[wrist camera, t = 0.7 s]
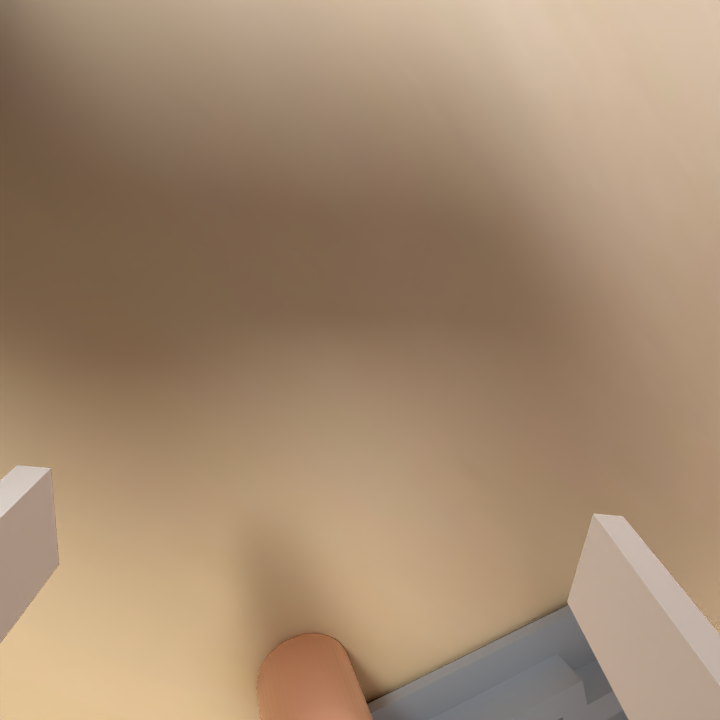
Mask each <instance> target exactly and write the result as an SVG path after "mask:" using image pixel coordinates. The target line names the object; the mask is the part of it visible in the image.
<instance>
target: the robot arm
mask: <svg viewBox="0 0 720 720" xmlns="http://www.w3.org/2000/svg"><path fill="white" fill-rule="evenodd" d="M58 565H59V556H58V544H57V532H56V520H55V508H54V496H53V484H52V472H51V468H45V467H33V466H21V465H17V466H16V467H15V468H14V469H12V470H11V471H10V472H9V473H8V474H7V475H6V476H4V477H3V478H2V479H1V480H0V643H1V642H2V641H3V639H4V638H5V637H6V635H7V634H8V632H9V631H10V630H11V628H12V627H13V626H14V624H15V623H16V622H17V620H18V619H19V618H20V616H21V615H22V614H23V612H24V611H25V610H26V608H27V607H28V606H29V604H30V603H31V602H32V600H33V599H34V598H35V596H36V595H37V594H38V592H39V591H40V589H41V588H42V587H43V585H44V584H45V583H46V581H47V580H48V579H49V577H50V576H51V575H52V573H53V572H54V571H55V569H56V568H57V567H58ZM567 603H568V605H569V607H570V608H571V610H572V612H573V614H574V616H575V618H576V620H577V622H578V624H579V626H580V628H581V630H582V632H583V633H584V635H585V637H586V639H587V641H588V643H589V645H590V647H591V649H592V651H593V653H594V655H595V657H596V658H597V660H598V662H599V664H600V666H601V668H602V670H603V672H604V674H605V676H606V678H607V680H608V682H609V683H610V685H611V687H612V689H613V691H614V693H615V695H616V697H617V699H618V701H619V703H620V705H621V707H622V708H623V710H624V712H625V714H626V716H627V718H628V720H720V634H719V633H718V632H717V631H716V629H715V628H714V627H713V626H712V624H711V623H710V622H709V621H708V620H707V618H706V617H705V616H704V615H703V613H702V612H701V611H700V610H699V609H698V607H697V606H696V605H695V604H694V602H693V601H692V600H691V599H690V598H689V596H688V595H687V594H686V593H685V591H684V590H683V589H682V588H681V587H680V585H679V584H678V583H677V582H676V580H675V579H674V578H673V577H672V576H671V574H670V573H669V572H668V571H667V569H666V568H665V567H664V566H663V565H662V563H661V562H660V561H659V560H658V558H657V557H656V556H655V555H654V553H653V552H652V551H651V550H650V549H649V547H648V546H647V545H646V544H645V542H644V541H643V540H642V539H641V538H640V536H639V535H638V534H637V533H636V531H635V530H634V529H633V528H632V527H631V525H630V524H629V523H628V522H627V520H626V519H625V518H624V517H623V516H616V515H605V514H593V516H592V519H591V523H590V526H589V529H588V533H587V536H586V540H585V543H584V546H583V550H582V553H581V556H580V560H579V563H578V566H577V570H576V573H575V577H574V580H573V583H572V587H571V590H570V593H569V597H568V600H567Z"/></svg>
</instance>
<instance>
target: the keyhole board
mask: <svg viewBox="0 0 720 720" xmlns="http://www.w3.org/2000/svg"><path fill="white" fill-rule="evenodd" d="M367 705H368V708H369V710H370V713H371V715H372V718H373V720H628V718H627V716H626V714H625V712H624V710H623V708H622V707H621V705H620V703H619V701H618V699H617V697H616V695H615V693H614V691H613V689H612V687H611V685H610V683H609V682H608V680H607V678H606V676H605V674H604V672H603V670H602V668H601V666H600V664H599V662H598V660H597V658H596V657H595V655H594V653H593V651H592V649H591V647H590V645H589V643H588V641H587V639H586V637H585V635H584V633H583V632H582V630H581V628H580V626H579V624H578V622H577V620H576V618H575V616H574V614H573V612H572V610H571V608H570V607H569V605H567V606H565V607H563V608H561V609H559V610H557V611H555V612H553V613H551V614H549V615H547V616H545V617H543V618H541V619H539V620H537V621H535V622H533V623H531V624H528V625H526V626H524V627H522V628H520V629H518V630H516V631H514V632H512V633H510V634H508V635H506V636H504V637H502V638H500V639H498V640H496V641H494V642H492V643H490V644H488V645H486V646H484V647H482V648H480V649H478V650H476V651H474V652H472V653H470V654H468V655H466V656H464V657H462V658H460V659H458V660H456V661H454V662H451V663H449V664H447V665H445V666H443V667H441V668H439V669H437V670H435V671H433V672H431V673H429V674H427V675H425V676H423V677H421V678H419V679H417V680H415V681H413V682H411V683H409V684H407V685H405V686H403V687H401V688H399V689H397V690H395V691H393V692H391V693H389V694H387V695H385V696H383V697H381V698H379V699H377V700H374V701H372V702H370V703H368V704H367Z"/></svg>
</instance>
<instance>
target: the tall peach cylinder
mask: <svg viewBox="0 0 720 720" xmlns="http://www.w3.org/2000/svg"><path fill="white" fill-rule="evenodd" d="M256 690H257V697H258V704H259V711H260V718H261V720H373V718H372V715H371V713H370V710H369V708H368V705H367V703H366V700H365V698H364V695H363V693H362V690H361V688H360V685H359V683H358V680H357V678H356V675H355V673H354V670H353V668H352V665H351V663H350V660H349V658H348V655H347V653H346V651H345V649H344V648H343V646H342V645H341V644H340V643H339V642H338V641H336V640H335V639H333V638H331V637H329V636H326V635H323V634H303V635H300V636H296V637H294V638H291V639H289V640H287V641H285V642H284V643H282V644H281V645H279V646H278V647H277V648H275V649H274V650H273V651H272V652H271V653H270V654H269V656H268V657H267V658H266V659H265V661H264V663H263V664H262V666H261V668H260V670H259V674H258V677H257V683H256Z"/></svg>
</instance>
